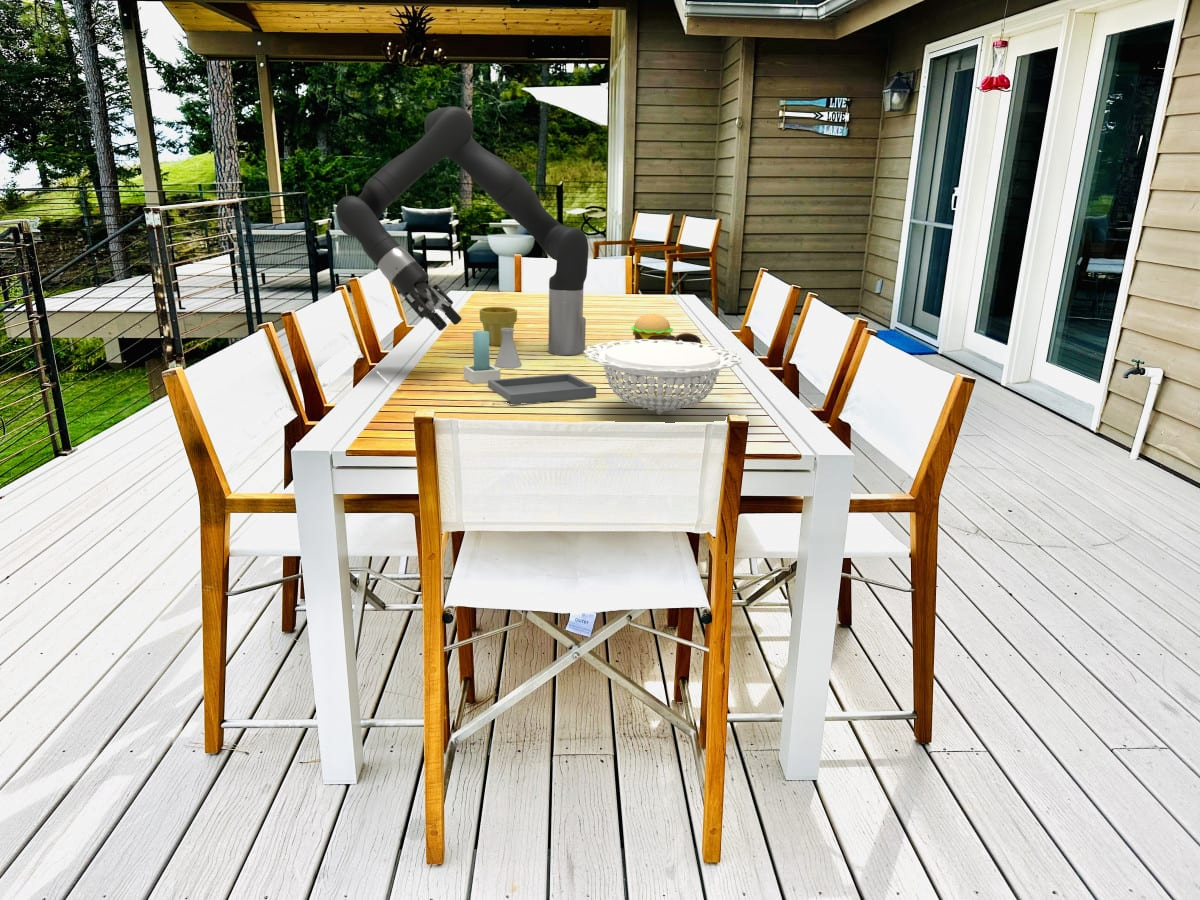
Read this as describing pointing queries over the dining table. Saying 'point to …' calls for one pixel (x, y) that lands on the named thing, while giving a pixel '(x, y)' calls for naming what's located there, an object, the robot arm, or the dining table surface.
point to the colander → (661, 370)
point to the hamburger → (651, 328)
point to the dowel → (481, 350)
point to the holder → (480, 374)
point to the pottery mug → (685, 338)
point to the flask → (507, 351)
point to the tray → (542, 388)
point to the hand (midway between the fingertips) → (451, 325)
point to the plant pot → (497, 321)
